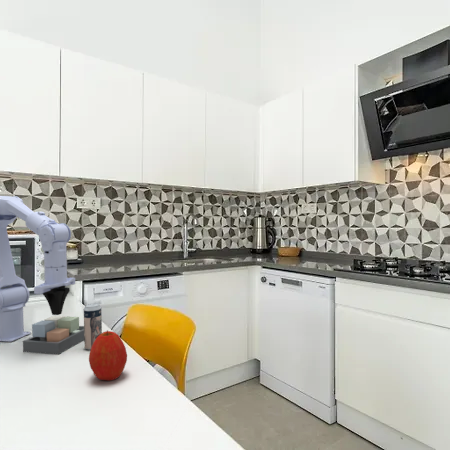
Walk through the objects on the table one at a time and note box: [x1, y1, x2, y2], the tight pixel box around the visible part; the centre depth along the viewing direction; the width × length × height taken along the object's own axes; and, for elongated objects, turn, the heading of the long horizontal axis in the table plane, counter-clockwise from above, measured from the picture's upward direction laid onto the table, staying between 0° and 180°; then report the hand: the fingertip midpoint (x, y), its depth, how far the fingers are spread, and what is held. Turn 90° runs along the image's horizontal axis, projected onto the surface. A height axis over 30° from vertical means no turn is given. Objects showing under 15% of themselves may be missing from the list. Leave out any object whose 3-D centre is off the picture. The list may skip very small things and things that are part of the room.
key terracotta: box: [47, 328, 69, 342], centre depth 98 cm, size 4×4×3 cm
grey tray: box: [22, 325, 84, 355], centre depth 102 cm, size 11×15×3 cm
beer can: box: [83, 303, 103, 351], centre depth 98 cm, size 5×5×12 cm
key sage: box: [58, 316, 80, 333], centre depth 102 cm, size 4×4×3 cm
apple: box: [88, 330, 128, 381], centre depth 79 cm, size 8×8×11 cm
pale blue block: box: [31, 319, 55, 337], centre depth 99 cm, size 4×4×3 cm
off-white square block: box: [43, 315, 66, 329], centre depth 103 cm, size 4×4×3 cm
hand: (56, 314), depth 99 cm, fingers closed
